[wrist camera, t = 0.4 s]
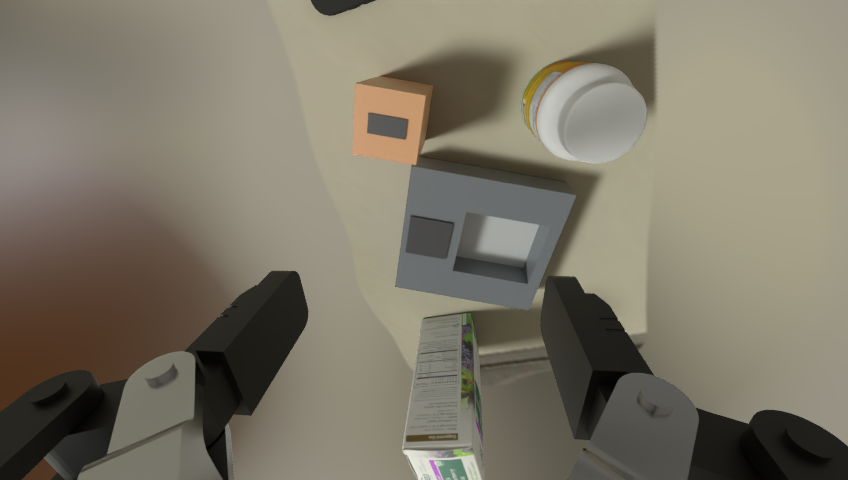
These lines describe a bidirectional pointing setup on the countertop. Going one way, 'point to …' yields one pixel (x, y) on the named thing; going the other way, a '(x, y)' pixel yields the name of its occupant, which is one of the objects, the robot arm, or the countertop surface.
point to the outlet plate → (479, 232)
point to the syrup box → (446, 402)
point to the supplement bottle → (583, 111)
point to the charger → (391, 118)
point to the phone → (337, 5)
